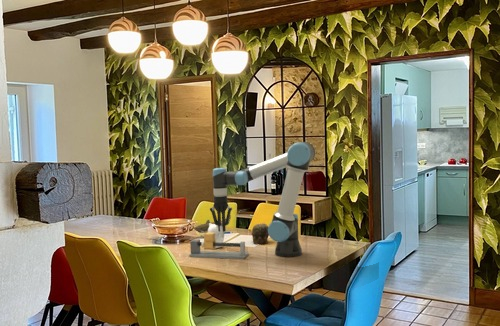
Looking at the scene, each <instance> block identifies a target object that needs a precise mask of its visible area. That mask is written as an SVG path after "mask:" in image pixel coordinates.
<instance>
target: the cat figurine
mask: <svg viewBox="0 0 500 326" xmlns="http://www.w3.org/2000/svg"><path fill="white" fill-rule="evenodd" d="M208 233H215V242H216V243H224V241H225V240H224V239H225V236H224V237H223V238H220V232H219V231H218V225H215V224H211V222H210V223H209V228H208ZM221 247H223V246H216V248H214V249H219V248H221ZM214 249H213V250H214Z"/></svg>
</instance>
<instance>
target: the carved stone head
mask: <svg viewBox="0 0 500 326" xmlns="http://www.w3.org/2000/svg"><path fill="white" fill-rule="evenodd" d="M268 227H269V225H267V224H266V223H257V224H255V225H253V227H252V230H251V236H252V237H251V238H252V242H253V244H255V245H257V244H259V245H265V244H267V243H268V239H269V237H270V236H269V234H268Z"/></svg>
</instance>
